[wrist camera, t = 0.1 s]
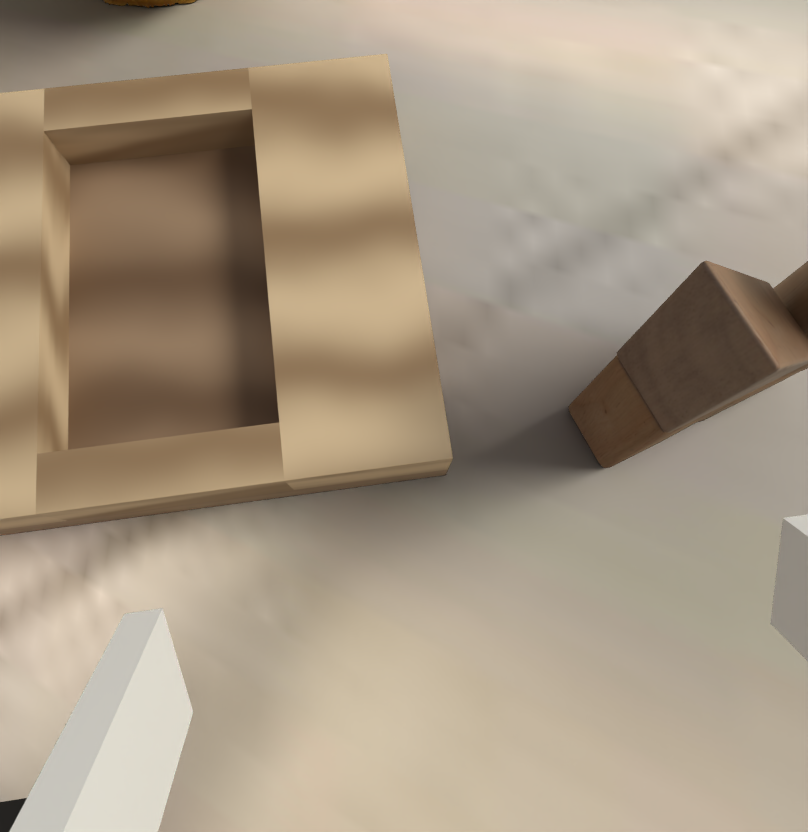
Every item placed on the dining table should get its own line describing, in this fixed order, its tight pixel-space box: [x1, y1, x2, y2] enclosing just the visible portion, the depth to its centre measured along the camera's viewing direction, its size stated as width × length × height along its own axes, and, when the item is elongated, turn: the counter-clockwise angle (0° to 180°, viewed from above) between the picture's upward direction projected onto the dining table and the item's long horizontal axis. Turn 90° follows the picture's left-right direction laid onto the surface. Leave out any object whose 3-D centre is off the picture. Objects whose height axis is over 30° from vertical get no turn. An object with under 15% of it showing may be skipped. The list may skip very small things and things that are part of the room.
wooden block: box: [569, 261, 808, 468], centre depth 22 cm, size 4×11×18 cm, turn 116°
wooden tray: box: [0, 54, 453, 535], centre depth 30 cm, size 21×24×4 cm
